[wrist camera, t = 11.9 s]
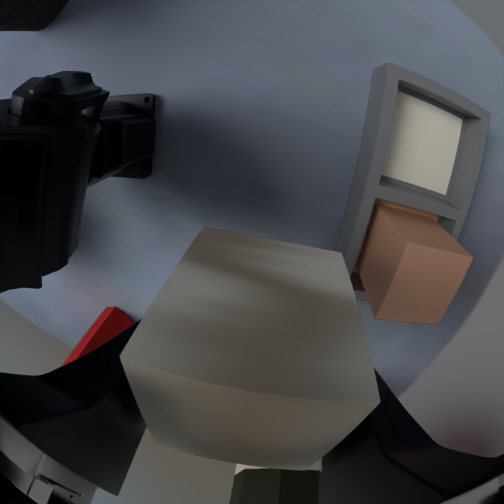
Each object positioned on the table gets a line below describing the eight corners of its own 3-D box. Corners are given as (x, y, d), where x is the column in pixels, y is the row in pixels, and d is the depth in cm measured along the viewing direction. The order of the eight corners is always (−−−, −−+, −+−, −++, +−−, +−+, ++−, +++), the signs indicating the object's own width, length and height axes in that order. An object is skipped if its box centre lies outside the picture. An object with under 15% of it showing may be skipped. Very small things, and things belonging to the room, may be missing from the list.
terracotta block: (356, 265, 19) (374, 318, 14) (375, 203, 17) (407, 242, 12) (410, 274, 19) (438, 324, 14) (432, 218, 17) (473, 257, 12)
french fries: (121, 351, 31) (78, 431, 19) (95, 333, 30) (46, 408, 19) (142, 315, 27) (84, 415, 15) (110, 292, 26) (42, 384, 14)
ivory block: (199, 327, 12) (155, 443, 7) (203, 226, 10) (119, 356, 4) (306, 347, 12) (305, 470, 7) (341, 252, 9) (380, 401, 4)
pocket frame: (327, 273, 21) (332, 296, 19) (373, 69, 14) (388, 62, 11) (413, 287, 21) (425, 308, 18) (467, 110, 13) (490, 113, 11)
